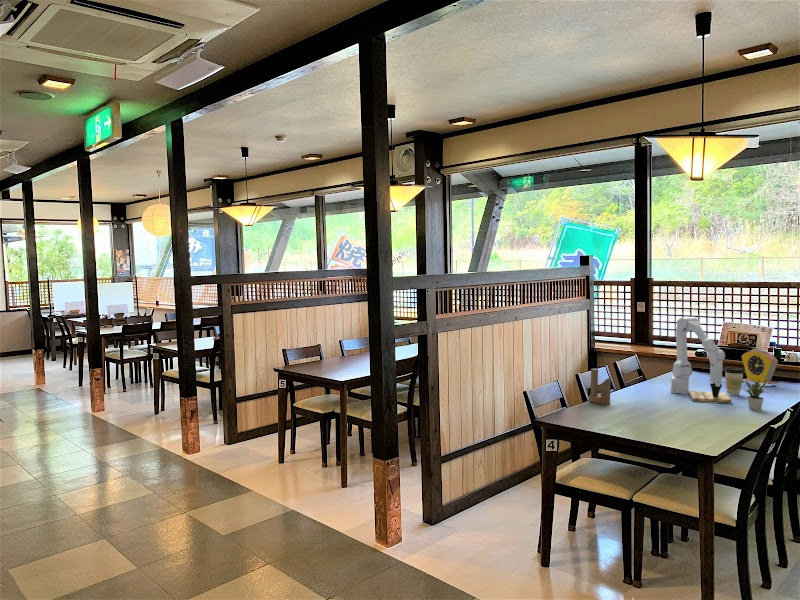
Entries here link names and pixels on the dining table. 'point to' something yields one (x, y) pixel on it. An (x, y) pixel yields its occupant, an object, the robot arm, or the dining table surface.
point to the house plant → (755, 395)
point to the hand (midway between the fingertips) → (715, 397)
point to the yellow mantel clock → (759, 365)
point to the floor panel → (700, 396)
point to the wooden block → (603, 388)
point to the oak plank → (717, 398)
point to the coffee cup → (733, 380)
